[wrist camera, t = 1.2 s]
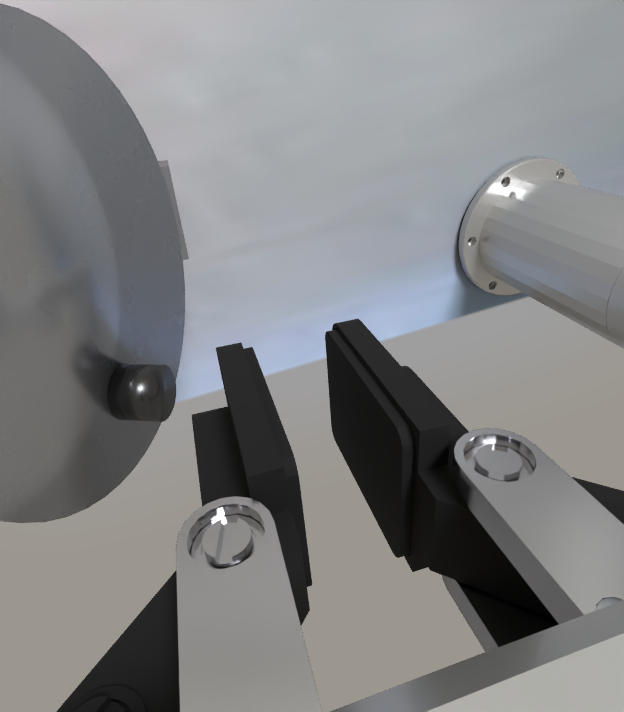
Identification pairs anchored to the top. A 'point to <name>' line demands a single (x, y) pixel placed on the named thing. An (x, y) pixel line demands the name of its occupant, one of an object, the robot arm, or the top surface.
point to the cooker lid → (78, 278)
